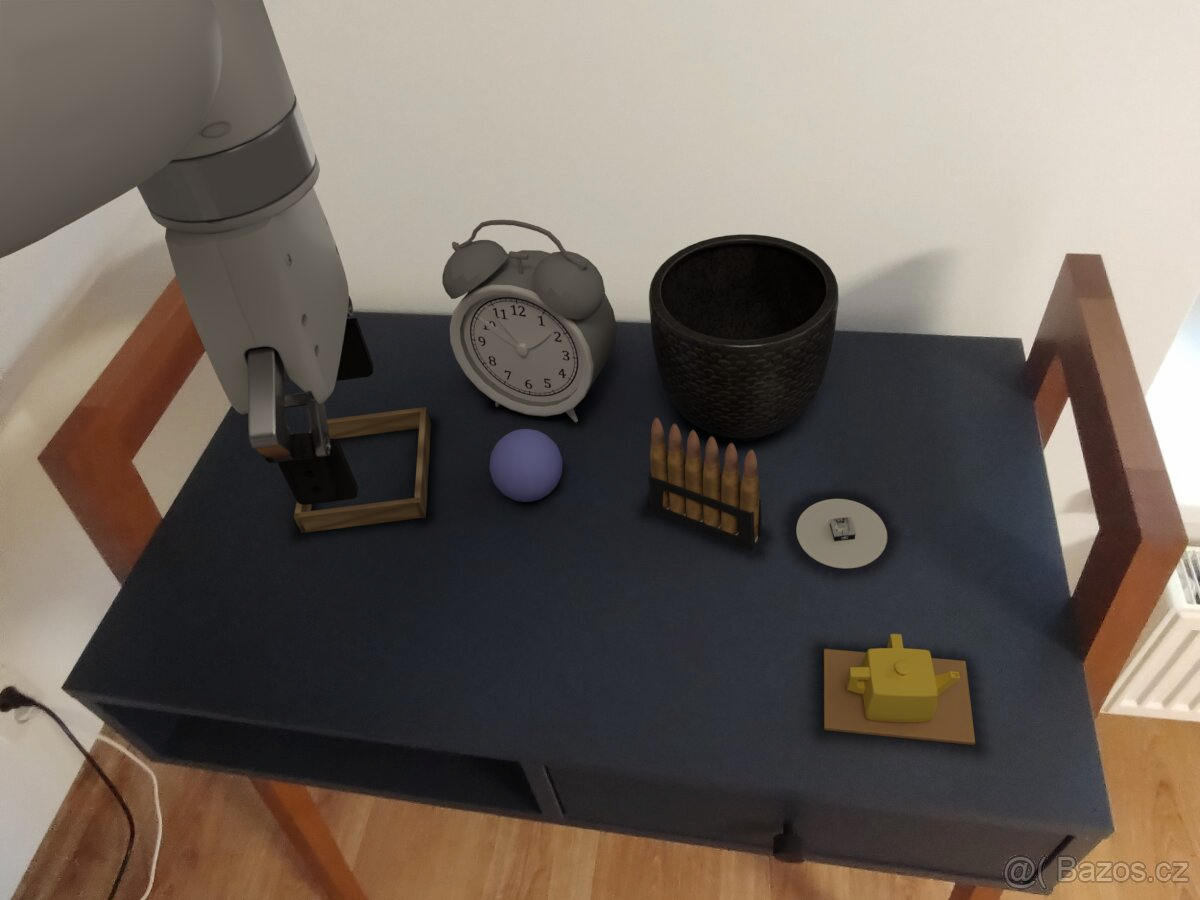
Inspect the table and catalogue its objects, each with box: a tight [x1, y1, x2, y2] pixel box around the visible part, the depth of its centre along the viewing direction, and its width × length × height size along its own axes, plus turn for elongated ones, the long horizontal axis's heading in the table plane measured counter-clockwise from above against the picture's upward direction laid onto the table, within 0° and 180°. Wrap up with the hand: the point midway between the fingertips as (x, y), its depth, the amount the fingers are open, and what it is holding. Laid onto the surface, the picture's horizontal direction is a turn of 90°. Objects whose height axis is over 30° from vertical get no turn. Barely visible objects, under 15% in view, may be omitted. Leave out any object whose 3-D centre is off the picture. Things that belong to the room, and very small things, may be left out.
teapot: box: [846, 633, 960, 723], centre depth 71 cm, size 8×6×5 cm
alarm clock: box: [441, 219, 618, 423], centre depth 93 cm, size 16×9×22 cm, turn 69°
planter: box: [648, 233, 840, 443], centre depth 91 cm, size 17×17×16 cm
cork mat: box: [823, 648, 976, 746], centre depth 73 cm, size 7×11×1 cm, turn 81°
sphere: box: [489, 428, 563, 503], centre depth 89 cm, size 7×7×7 cm
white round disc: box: [795, 498, 888, 569], centre depth 84 cm, size 8×8×1 cm
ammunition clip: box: [648, 417, 763, 552], centre depth 83 cm, size 11×2×12 cm, turn 60°
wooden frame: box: [293, 406, 432, 534], centre depth 94 cm, size 13×12×2 cm
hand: (339, 433), depth 53 cm, fingers open, 9 cm apart
